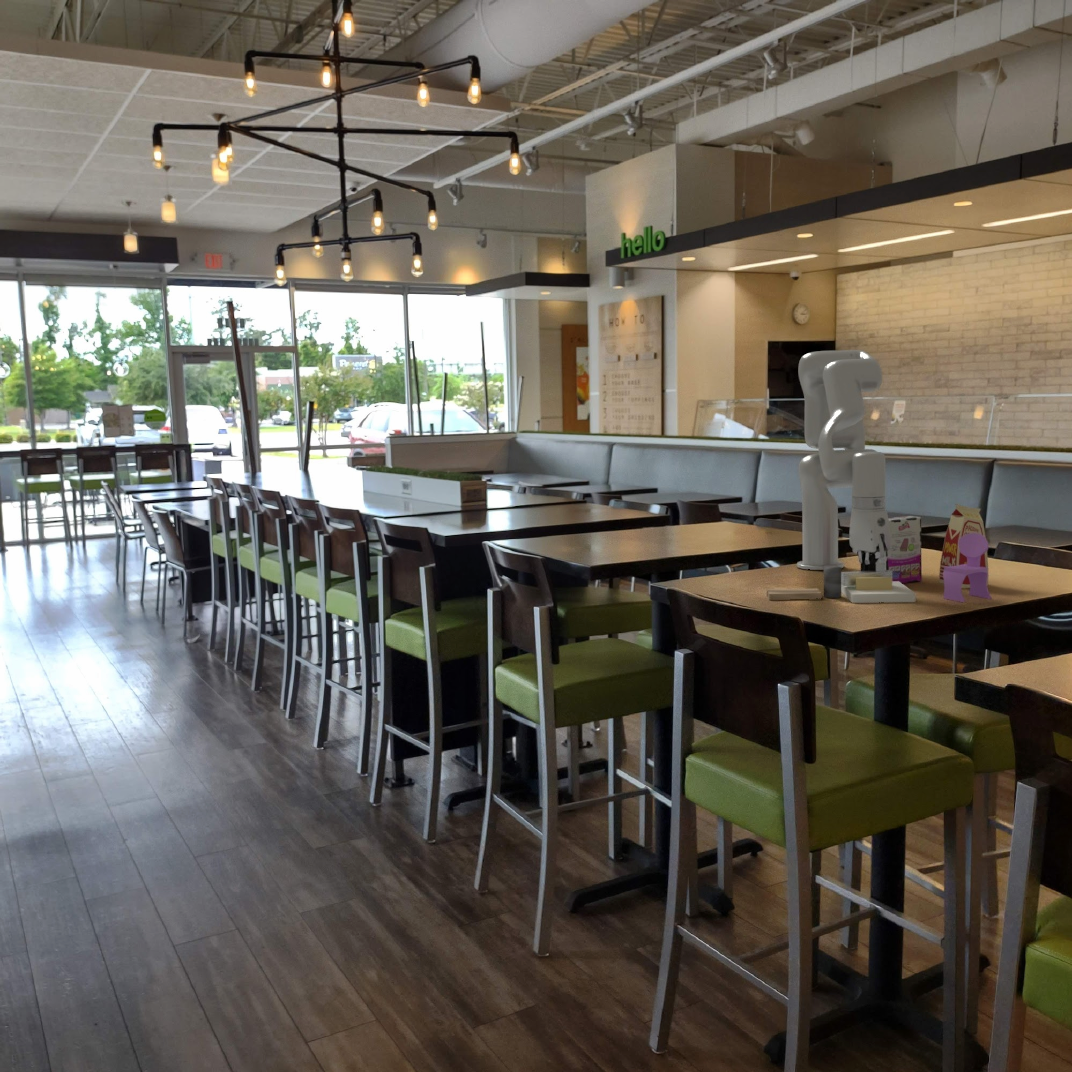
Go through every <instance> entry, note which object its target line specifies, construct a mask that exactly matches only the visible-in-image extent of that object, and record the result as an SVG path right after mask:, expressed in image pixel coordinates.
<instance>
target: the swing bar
mask: <svg viewBox="0 0 1072 1072" xmlns="http://www.w3.org/2000/svg"><path fill="white" fill-rule="evenodd" d="M863 577H892V571H890V570H874V571H861V570H857V571H841V585H843V586H856V578H863Z"/></svg>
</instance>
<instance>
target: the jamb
mask: <svg viewBox="0 0 1072 1072" xmlns="http://www.w3.org/2000/svg"><path fill="white" fill-rule="evenodd" d="M841 572H842V568H841V567H837V566H827V567H824V570H823V598H825V597H828V598H827V599H840V598H842V592H841ZM766 597H767V598H768V600H769V601H791V600H790V599H808V598H810V599H809V600H822V599H821V598H822V592H821V590H820V589H819V588H770V589H767V588H766ZM816 598H818V599H816ZM819 598H820V599H819Z"/></svg>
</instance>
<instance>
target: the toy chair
mask: <svg viewBox="0 0 1072 1072" xmlns="http://www.w3.org/2000/svg"><path fill="white" fill-rule="evenodd" d="M958 545H959V549H960V553H962V554H963V555H964V556H966V557H967V564H962V565H957V566H947V567H944V572H943V578H944V584H943V585H944V591H943V597H942V599H943V600H947V599H949V600H948V601H952V600H954V602H957V601H960V602H959V603H962V602H966V600H965V598H964V595H963V592H962V588H961V586H962V583H963V581H964V579H965V577H966V576H967V575H968V577H969V581H970V588H969V591H968V595H969V596H972V595H973V597H978V598H983V599H989V600H992V599H993V598H992V596H991V594H990V592H989V589H988V586H987V578H988V579H989V571H988V572H987V567H980V559H981V555H982V554H984V553H985V552H986V551H987V552H988V550H989V542H988V540H987V538H986V536H985V537H984V536H983V535H982V534H979V533H969V534H966V535H964V536H962V537H961V538H960V539H959V542H958Z"/></svg>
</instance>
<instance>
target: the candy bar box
mask: <svg viewBox="0 0 1072 1072" xmlns="http://www.w3.org/2000/svg"><path fill="white" fill-rule="evenodd" d="M888 520H889V529H890V549H889V550H888V551H884V554H885V556H884V557H883V558H879V559H878V563H876V570H890V571H892V581H899V582H900V583H903V584H909V583H910V584H911V583H916V582H917V583H919V582H922V580H923V579H922V576H923V575H922V571H923V570H922V517H921V516H916V515H915V516H914V515H907V516H906V515H905V516H895V517H888Z"/></svg>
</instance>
